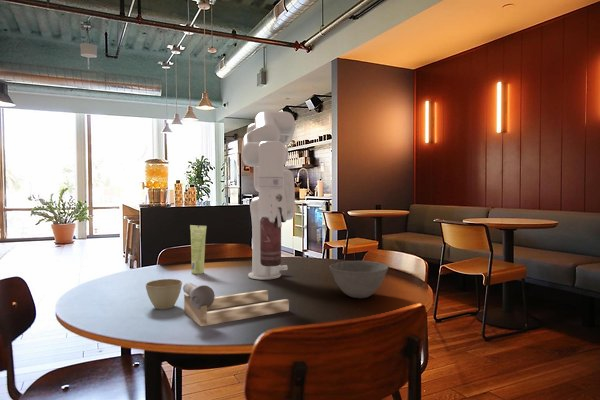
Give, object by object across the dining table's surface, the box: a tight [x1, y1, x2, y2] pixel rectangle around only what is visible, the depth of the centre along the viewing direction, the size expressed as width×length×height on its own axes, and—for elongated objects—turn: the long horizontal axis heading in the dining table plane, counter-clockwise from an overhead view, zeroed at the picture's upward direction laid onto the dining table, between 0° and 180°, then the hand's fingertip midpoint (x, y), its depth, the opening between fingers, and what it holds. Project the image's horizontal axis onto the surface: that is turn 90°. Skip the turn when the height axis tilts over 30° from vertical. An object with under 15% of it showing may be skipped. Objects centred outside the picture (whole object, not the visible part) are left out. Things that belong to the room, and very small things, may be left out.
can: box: [260, 218, 282, 266], centre depth 121 cm, size 6×6×14 cm
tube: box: [189, 224, 207, 275], centre depth 167 cm, size 6×5×20 cm
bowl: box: [328, 260, 389, 299], centre depth 132 cm, size 19×19×10 cm
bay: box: [182, 282, 290, 327], centre depth 114 cm, size 28×16×10 cm, turn 122°
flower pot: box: [145, 278, 183, 310], centre depth 119 cm, size 10×10×7 cm
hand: (270, 245), depth 121 cm, fingers closed
